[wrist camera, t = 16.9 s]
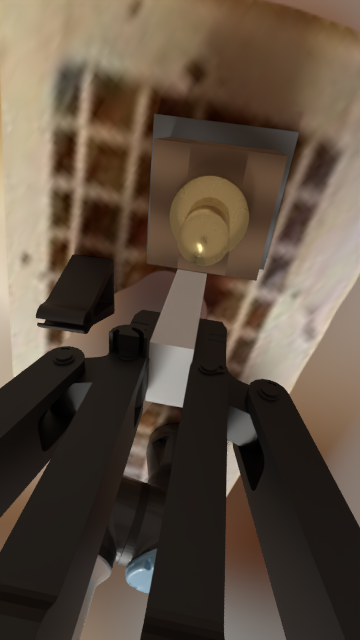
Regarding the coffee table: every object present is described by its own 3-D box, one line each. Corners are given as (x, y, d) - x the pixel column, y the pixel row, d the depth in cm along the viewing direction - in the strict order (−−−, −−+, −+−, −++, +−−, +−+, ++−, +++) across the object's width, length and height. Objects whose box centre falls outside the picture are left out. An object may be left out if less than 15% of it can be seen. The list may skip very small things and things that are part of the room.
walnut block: (262, 265, 45) (270, 299, 36) (148, 248, 46) (128, 277, 37) (296, 131, 36) (318, 133, 27) (156, 114, 37) (133, 109, 28)
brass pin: (238, 235, 41) (241, 292, 26) (179, 227, 41) (151, 278, 27) (251, 170, 37) (264, 196, 23) (186, 161, 37) (158, 182, 23)
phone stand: (114, 312, 52) (85, 357, 42) (78, 306, 52) (40, 350, 42) (113, 259, 47) (80, 295, 37) (73, 253, 48) (30, 287, 37)
